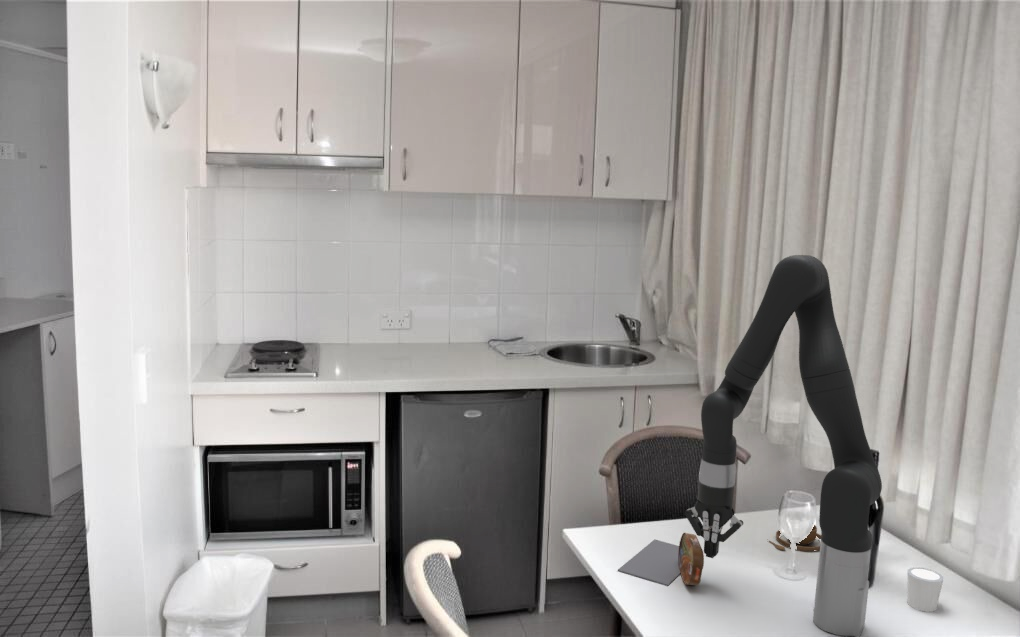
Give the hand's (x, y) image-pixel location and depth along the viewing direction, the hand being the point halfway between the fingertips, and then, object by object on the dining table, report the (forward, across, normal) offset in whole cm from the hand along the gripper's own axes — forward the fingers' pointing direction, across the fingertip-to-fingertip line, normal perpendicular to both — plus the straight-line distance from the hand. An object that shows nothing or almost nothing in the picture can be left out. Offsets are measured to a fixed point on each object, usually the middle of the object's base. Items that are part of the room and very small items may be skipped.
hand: (710, 556), depth 182 cm
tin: (+6, +5, 0) cm, 8 cm away
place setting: (+7, -14, -34) cm, 37 cm away
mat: (+6, +13, -3) cm, 14 cm away
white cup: (+6, -40, -18) cm, 45 cm away
